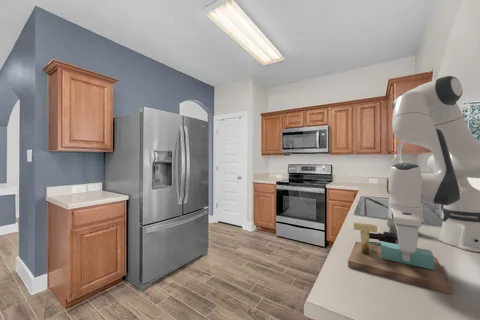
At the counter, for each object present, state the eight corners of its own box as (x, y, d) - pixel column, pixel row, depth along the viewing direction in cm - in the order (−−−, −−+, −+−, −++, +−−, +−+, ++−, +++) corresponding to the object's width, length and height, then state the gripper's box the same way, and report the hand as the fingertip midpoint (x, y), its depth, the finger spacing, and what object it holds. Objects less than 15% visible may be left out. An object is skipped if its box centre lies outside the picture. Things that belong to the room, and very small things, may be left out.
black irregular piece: (364, 239, 81) (413, 246, 74) (362, 221, 98) (401, 226, 91) (364, 252, 82) (413, 260, 75) (362, 232, 99) (401, 237, 92)
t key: (353, 243, 82) (353, 218, 82) (374, 246, 79) (374, 220, 79) (353, 251, 75) (353, 224, 75) (377, 255, 71) (377, 226, 71)
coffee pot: (416, 230, 105) (416, 200, 105) (415, 236, 96) (415, 203, 96) (367, 222, 119) (367, 195, 119) (362, 226, 110) (362, 198, 110)
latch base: (436, 263, 71) (436, 257, 71) (451, 293, 54) (451, 286, 54) (355, 246, 84) (355, 241, 84) (348, 266, 68) (348, 260, 68)
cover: (431, 263, 66) (431, 250, 66) (434, 269, 62) (433, 256, 62) (381, 252, 73) (381, 241, 73) (381, 258, 69) (380, 246, 69)
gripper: (392, 206, 78) (392, 243, 78) (393, 219, 61) (394, 266, 61) (414, 208, 74) (414, 247, 74) (422, 222, 58) (422, 273, 58)
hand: (405, 256), depth 68 cm, fingers closed on cover, 5 cm apart
